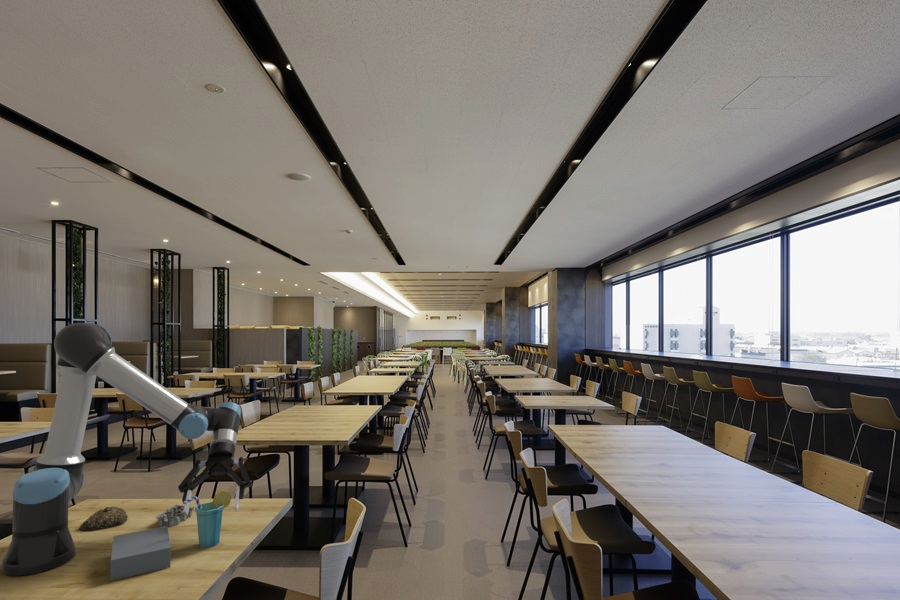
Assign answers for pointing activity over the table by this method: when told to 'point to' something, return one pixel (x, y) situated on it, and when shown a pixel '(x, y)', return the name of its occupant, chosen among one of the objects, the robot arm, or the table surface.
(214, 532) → the cup
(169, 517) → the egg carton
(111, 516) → the bread roll
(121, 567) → the slate block
